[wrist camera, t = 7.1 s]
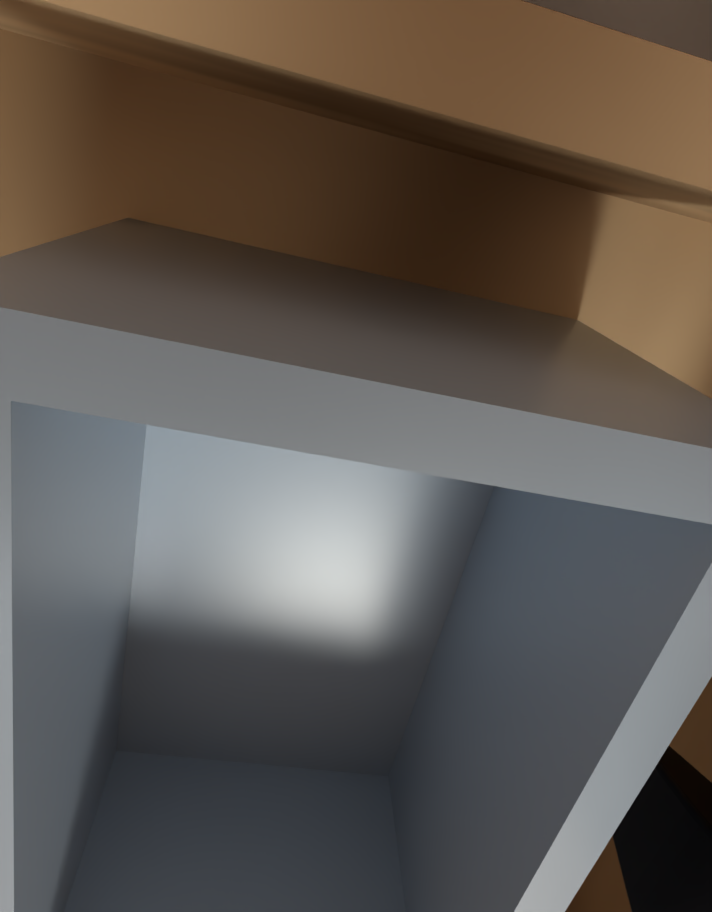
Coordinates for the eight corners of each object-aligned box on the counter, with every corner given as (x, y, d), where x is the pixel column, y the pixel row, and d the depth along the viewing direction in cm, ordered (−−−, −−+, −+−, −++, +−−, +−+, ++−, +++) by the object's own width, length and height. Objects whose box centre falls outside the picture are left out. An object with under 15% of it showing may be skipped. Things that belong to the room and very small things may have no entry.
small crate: (127, 217, 8) (-99, 289, 4) (577, 319, 9) (838, 473, 5) (91, 742, 12) (-36, 1082, 8) (405, 772, 13) (455, 1087, 9)
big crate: (865, 209, 10) (1280, 244, 5) (531, 825, 16) (608, 1058, 12) (-217, -107, 7) (-917, -465, 3) (-113, 769, 13) (-298, 1037, 9)
